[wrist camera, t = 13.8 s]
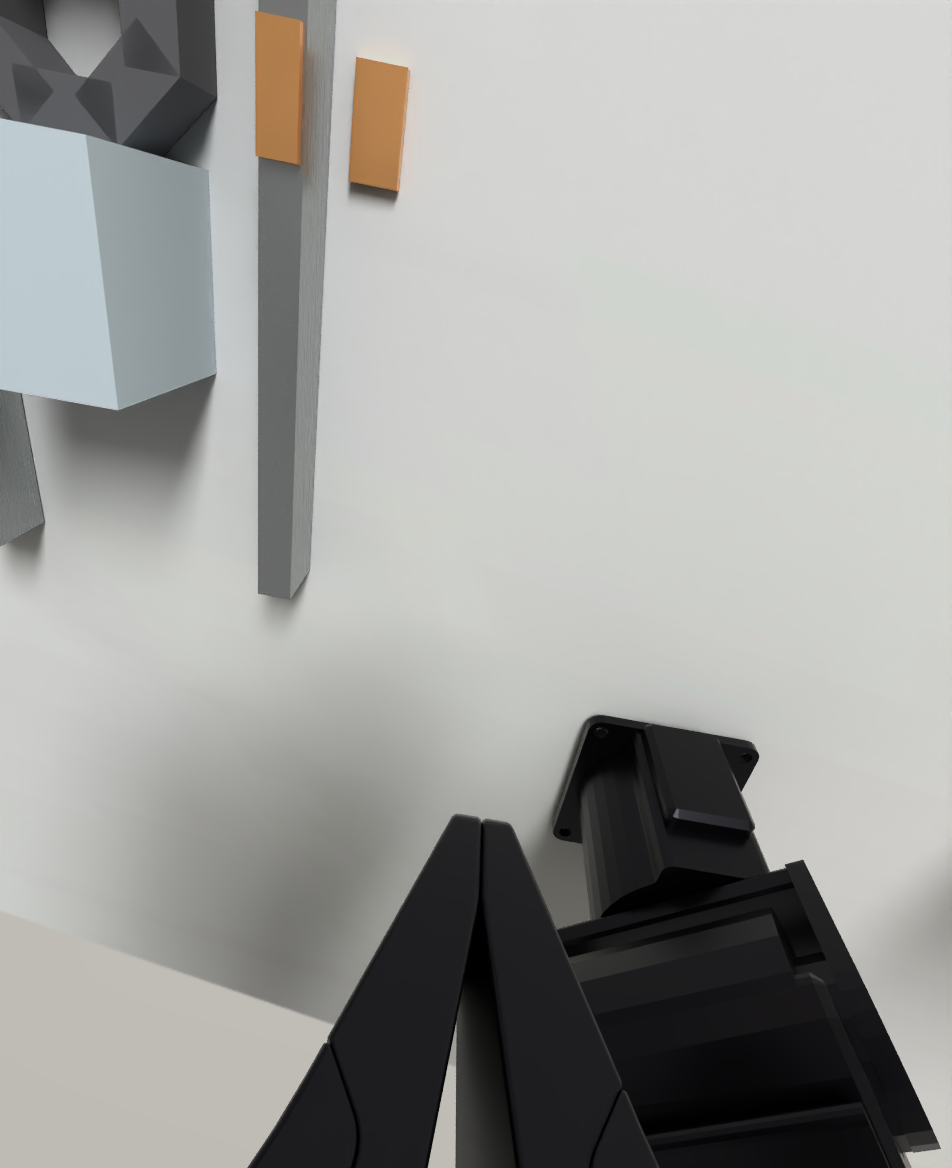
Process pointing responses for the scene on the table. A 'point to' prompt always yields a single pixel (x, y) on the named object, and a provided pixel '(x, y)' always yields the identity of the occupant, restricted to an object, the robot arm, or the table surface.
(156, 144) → the ring
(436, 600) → the table surface
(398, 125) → the channel
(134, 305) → the pale blue cuboid
